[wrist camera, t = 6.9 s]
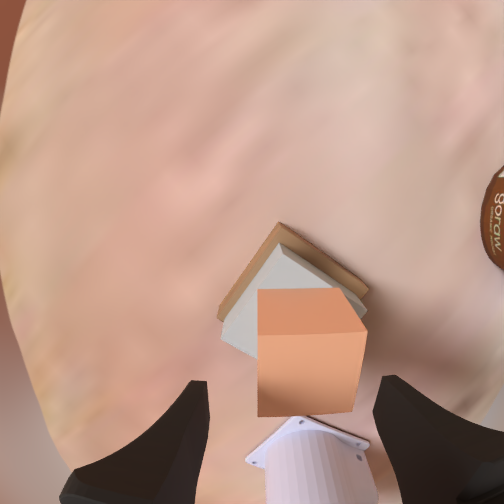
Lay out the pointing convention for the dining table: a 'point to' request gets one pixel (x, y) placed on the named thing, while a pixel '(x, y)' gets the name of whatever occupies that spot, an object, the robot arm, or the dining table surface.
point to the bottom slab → (300, 248)
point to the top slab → (276, 277)
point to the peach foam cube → (307, 352)
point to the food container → (494, 219)
